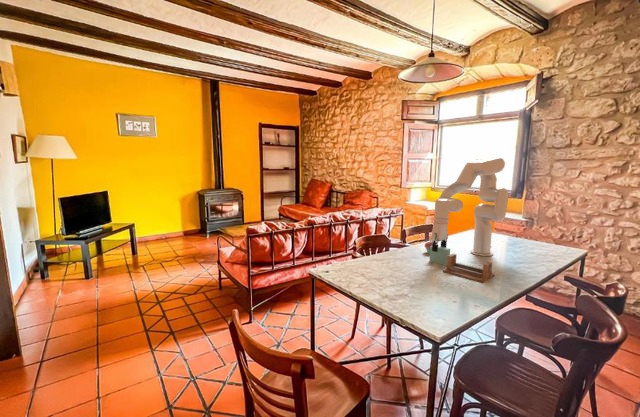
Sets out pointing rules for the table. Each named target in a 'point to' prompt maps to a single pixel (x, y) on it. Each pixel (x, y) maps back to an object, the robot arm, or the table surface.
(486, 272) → the brown wooden holder
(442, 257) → the door panel
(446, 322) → the table surface
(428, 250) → the cupcake
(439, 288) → the table surface
